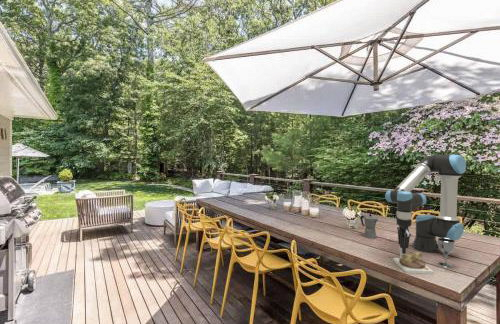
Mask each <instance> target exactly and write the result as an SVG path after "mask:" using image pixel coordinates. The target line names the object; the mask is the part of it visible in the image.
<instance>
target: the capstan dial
mask: <svg viewBox="0 0 500 324" xmlns="http://www.w3.org/2000/svg"><path fill="white" fill-rule="evenodd" d="M399 258H400V257H399ZM399 262H400V263H401V264H402V265H404V266H407V267H411V268H424V267H425V265H426V262H425V261H424V260H423V253H422V252H421V251H416V252H413V251H411V252H410V251H409V252H408V254H407V253H406V255H403V256H402V259H401V258H400V259H399Z"/></svg>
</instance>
